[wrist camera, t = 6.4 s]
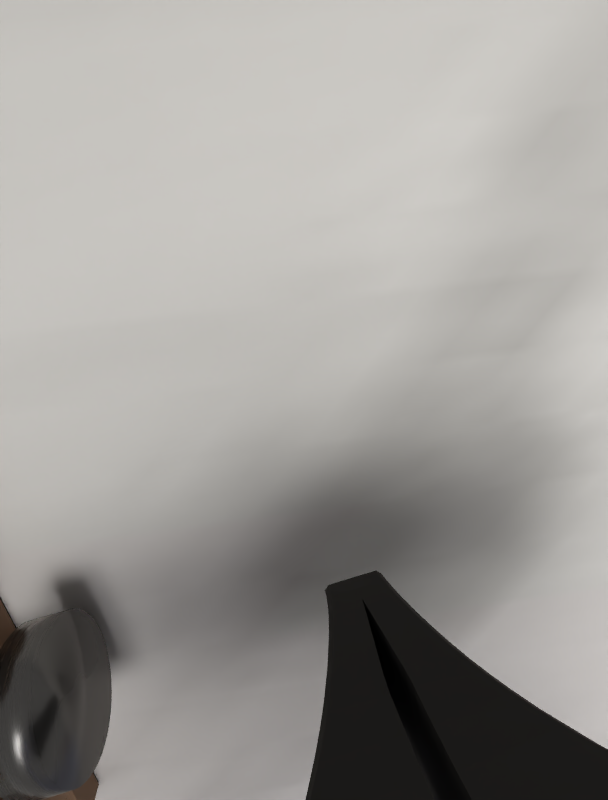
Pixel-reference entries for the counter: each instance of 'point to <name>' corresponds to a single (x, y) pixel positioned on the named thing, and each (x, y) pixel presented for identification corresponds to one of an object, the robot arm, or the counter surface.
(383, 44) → the counter surface
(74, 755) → the door stop
